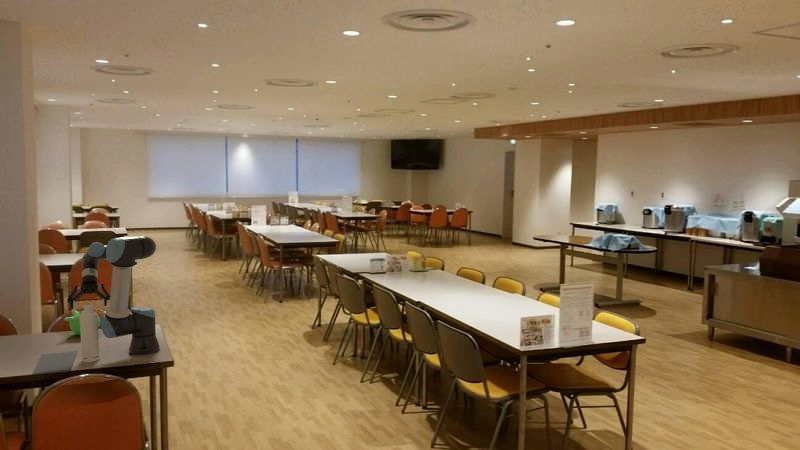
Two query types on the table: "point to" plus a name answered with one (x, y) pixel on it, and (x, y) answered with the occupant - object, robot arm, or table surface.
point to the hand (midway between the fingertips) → (88, 311)
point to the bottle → (89, 334)
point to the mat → (55, 363)
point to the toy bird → (76, 322)
